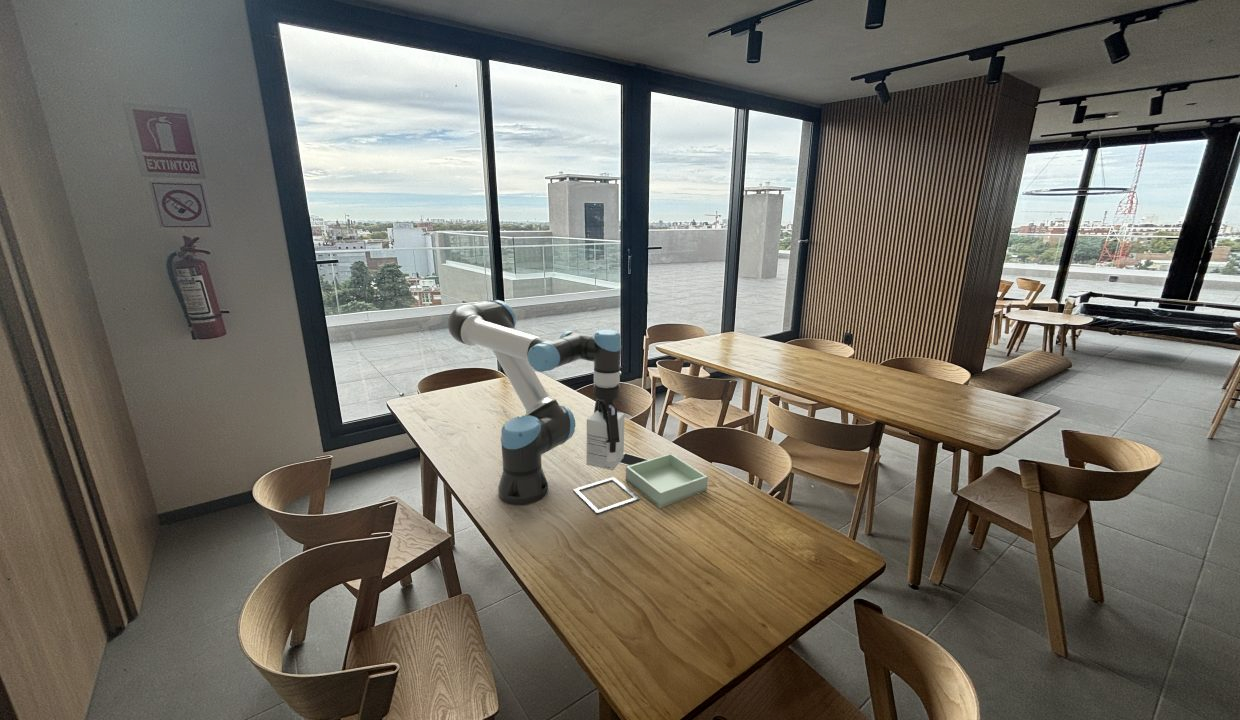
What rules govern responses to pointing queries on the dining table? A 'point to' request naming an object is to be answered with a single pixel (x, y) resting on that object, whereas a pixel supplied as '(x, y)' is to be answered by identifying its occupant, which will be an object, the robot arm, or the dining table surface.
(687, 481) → the bin
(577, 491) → the white square frame
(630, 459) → the cell phone
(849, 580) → the dining table surface
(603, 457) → the supplement box
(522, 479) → the robot arm
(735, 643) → the dining table surface
